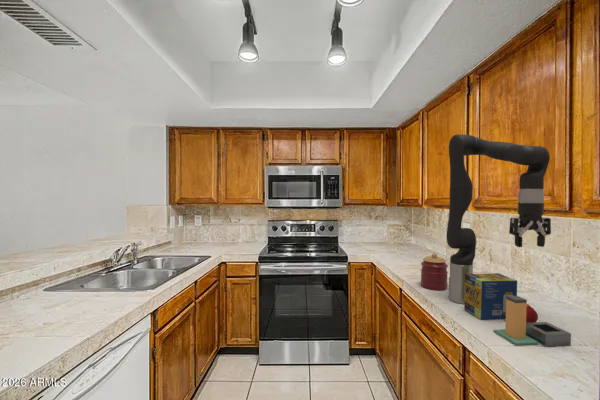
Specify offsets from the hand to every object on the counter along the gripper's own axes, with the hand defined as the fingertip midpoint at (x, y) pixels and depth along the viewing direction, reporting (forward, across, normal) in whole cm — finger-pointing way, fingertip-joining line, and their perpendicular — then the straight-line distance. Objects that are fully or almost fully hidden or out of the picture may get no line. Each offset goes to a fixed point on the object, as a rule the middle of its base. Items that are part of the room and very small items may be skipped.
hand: (529, 246), depth 112 cm
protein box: (+30, +4, -14) cm, 34 cm away
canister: (+30, +7, -51) cm, 60 cm away
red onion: (+30, -3, -3) cm, 31 cm away
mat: (+30, +10, +6) cm, 32 cm away
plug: (+29, +10, +6) cm, 32 cm away
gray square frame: (+30, 0, +8) cm, 31 cm away
